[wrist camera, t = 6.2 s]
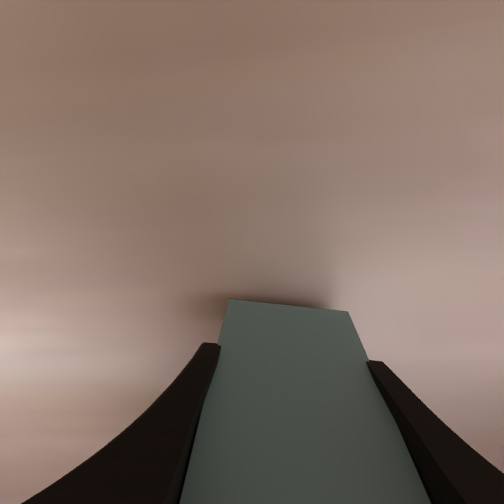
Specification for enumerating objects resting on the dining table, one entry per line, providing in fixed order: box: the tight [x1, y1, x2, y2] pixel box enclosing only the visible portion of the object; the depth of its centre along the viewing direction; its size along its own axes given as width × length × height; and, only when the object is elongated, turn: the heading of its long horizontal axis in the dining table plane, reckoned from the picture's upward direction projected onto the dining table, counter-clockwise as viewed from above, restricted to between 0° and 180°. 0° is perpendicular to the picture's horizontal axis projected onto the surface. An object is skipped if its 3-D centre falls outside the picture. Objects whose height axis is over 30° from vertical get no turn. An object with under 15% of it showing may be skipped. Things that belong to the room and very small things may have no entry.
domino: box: [179, 299, 431, 504], centre depth 9 cm, size 5×2×10 cm, turn 85°
